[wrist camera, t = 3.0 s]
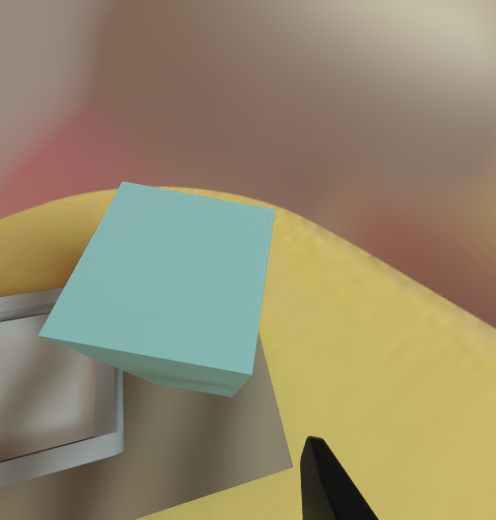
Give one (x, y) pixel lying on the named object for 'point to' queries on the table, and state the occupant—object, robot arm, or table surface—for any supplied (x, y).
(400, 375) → the table surface
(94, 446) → the baseboard
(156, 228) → the pillar
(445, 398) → the table surface
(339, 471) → the robot arm
